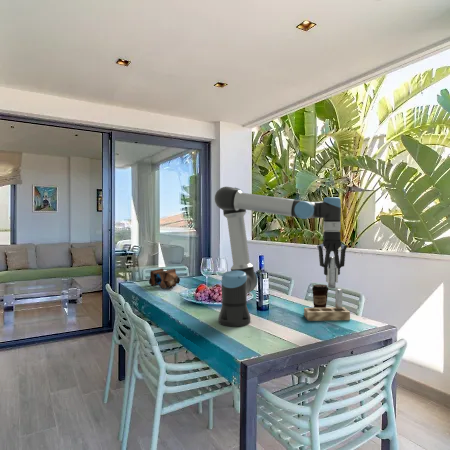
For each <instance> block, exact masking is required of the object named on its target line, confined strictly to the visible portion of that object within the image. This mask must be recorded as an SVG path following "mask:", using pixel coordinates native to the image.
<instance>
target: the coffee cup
mask: <svg viewBox="0 0 450 450" xmlns="http://www.w3.org/2000/svg"><path fill="white" fill-rule="evenodd" d="M312 286H313V287H311V288H312V289H311V290H312V301H313V302H312V303H313V308H325V307H327V304H328V303H327V302H328V294H329V293H328V291H329V287H328V284H320V283H319V284H313V285H312Z"/></svg>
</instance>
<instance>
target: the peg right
mask: <svg viewBox="0 0 450 450" xmlns="http://www.w3.org/2000/svg"><path fill="white" fill-rule="evenodd" d="M334 289H335V297H334V298H335V301H334V302H335V303H334V304H335V305H334V307H335V311H342V307H343V289H342V288H334Z"/></svg>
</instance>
